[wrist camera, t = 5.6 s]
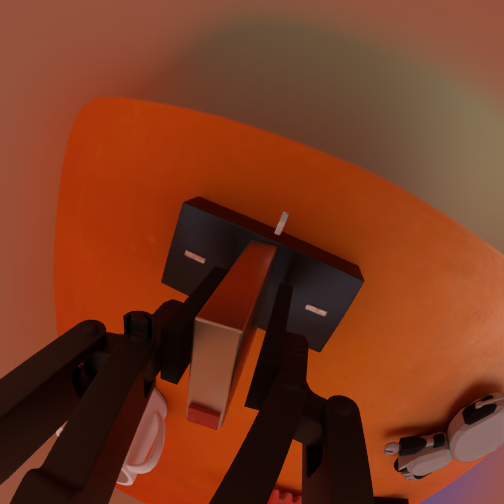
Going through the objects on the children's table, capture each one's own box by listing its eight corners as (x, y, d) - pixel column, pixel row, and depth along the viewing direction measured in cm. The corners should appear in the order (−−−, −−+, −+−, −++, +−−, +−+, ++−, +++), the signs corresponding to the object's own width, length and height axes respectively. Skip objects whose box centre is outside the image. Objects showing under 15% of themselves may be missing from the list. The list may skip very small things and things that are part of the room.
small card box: (251, 238, 17) (191, 321, 9) (278, 245, 17) (241, 336, 9) (235, 316, 19) (183, 421, 11) (259, 322, 19) (219, 433, 10)
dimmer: (371, 242, 18) (379, 255, 16) (309, 350, 22) (307, 371, 19) (206, 171, 19) (191, 173, 17) (170, 288, 23) (154, 304, 20)
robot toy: (405, 465, 26) (507, 418, 20) (406, 492, 22) (515, 444, 16) (377, 425, 24) (505, 363, 18) (378, 459, 20) (520, 394, 14)
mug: (123, 413, 31) (84, 468, 21) (94, 361, 28) (41, 416, 19) (198, 429, 28) (165, 500, 19) (173, 372, 26) (123, 452, 16)
